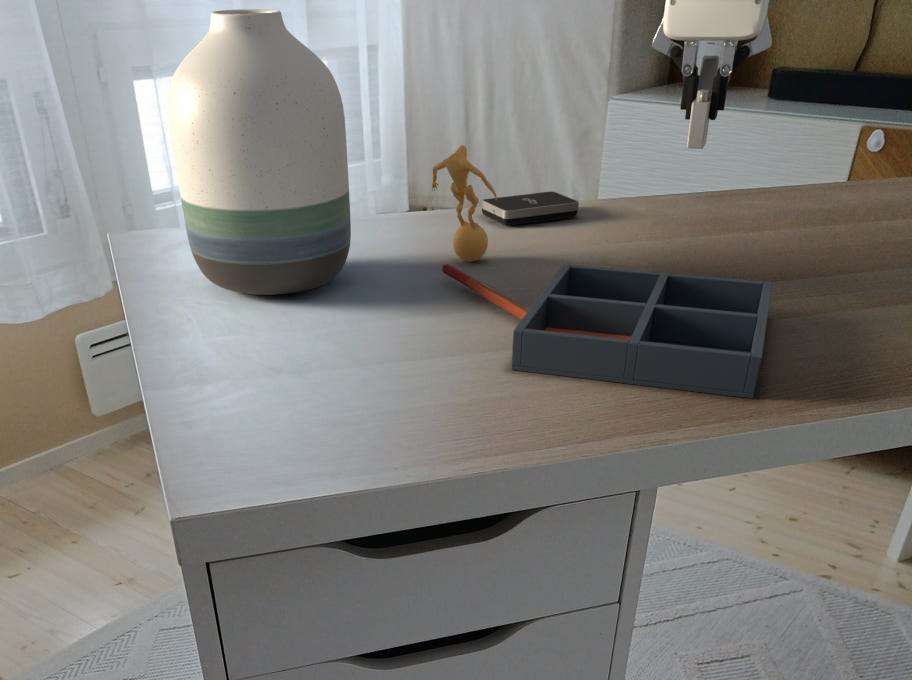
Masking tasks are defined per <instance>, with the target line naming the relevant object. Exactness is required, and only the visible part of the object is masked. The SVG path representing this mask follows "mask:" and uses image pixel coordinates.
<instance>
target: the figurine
mask: <svg viewBox="0 0 912 680" xmlns="http://www.w3.org/2000/svg"><path fill="white" fill-rule="evenodd" d="M467 158H468V149H467V147H466V146H465V145H464V144H462V145H460V146H458V148H457V150H456V151H454V152H453V153H452V154H450V155H449V156H448V157H447V158H444V159H443V160H442V161H441V162H438V163H436V164H435V165H434V166H433V167H432V170H431V171H432V172H431V173H432V174H431V176H432V177H431V190H432V191H436V190H437V191H438V186H440V184H438V182H437V177H438V171H440V170H442V169H445V168H446V169H447V172H448V174H449V176H450V178H451V180H452V183H451V184H450V192H451V193H452V196H453V197H454V198H455V200H457V202H458V204H457V206H456V207H455V208H456V209H455V212H456V217H457V219H458V221H459V224H460V226H459V227H458V228H457V229H456V231H455V232H454V234H453V236H452V248H453V251H454V253H455V255H456V256H457V257H458V258H459V259H460V260H462V261H465V262H468V263H469V262H476V261H478V260H480V259H481V258H482V257H483V256H484V255H485V254H486V252H487V250H488V246H489V238H488V237H489V236H488V234H487V232H486V231H485V229H484V228H483V226H481V225H479V223H478V222H475V221H474V219H473V215H474V214H475V213H476V208H477V206H478V204H479V198H478V196H477V195H476V193H475V192H474V188H473V185H472V184H467V183H468V176H469V174H470V173H472V174H474V175H475V176H477V177H479V178H480V179H481V181H482V182H483V184H484V185H485V186H486V188H487V189H488V190H489V191H490V192H491V193H492V194H493V195H494V198H495V199H496V201H497V198H498V197H497V194H496V190H495V189H494V187H493V185H492V184H491V183H490V181H489V180H488V179H487V178H486V176H485V175H484V172H482V171H481V170H480V169H479V168H478V167H476V166H474V165H473V164H472V163H471V162H470V161H469V160H468V159H467ZM465 199H466V200H467V201H468V202H470V203H471V206H470V207H469V208H468V210H467V220H468V221H466V220H464V218H463V215H462V212H463V209H464V203H465Z"/></svg>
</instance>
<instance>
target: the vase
mask: <svg viewBox="0 0 912 680" xmlns="http://www.w3.org/2000/svg"><path fill="white" fill-rule="evenodd" d="M209 24H210V25H209V29H208V31H207V33H206V34H205V35H204V37H203V38H202V39H201V40H200V41H199V43H197V45H195V47H194V48H192V50H190V51H189V53H187V55H186V56H185V57H184V58H183V59H182V60H181V62H180V64H179V65H178V67H177V68H176V70H175V72H174V73H173V76H172V78H171V82H170V86H169V89H168V90H169V91H168V98H167V119H168V127H169V133H170V134H169V135H170V142H171V147H172V153H173V158H174V165H175V172H176V178H177V183H178V190H179V196H180V201H181V206H182V207H181V208H182V213H183V218H184V220H183V221H184V224H185V225H184V226H185V230H186V236H187V240H188V245H189V248H190V251H191V254H192V257H193V259H194V261H195V263H196V265H197V267H198V269H199V270H200V272H201V273H202V274H203V276H204V277H205V278H206V279H207V280H208V281H210V282H211V283H212V284H214V285H216V286H218V287H219V288H222V289H224V290H228V291H231V292H235V293H239V294H244V295H245V294H246V295H257V296H259V295H261V296H271V295H273V296H275V295H285V294H286V295H287V294H295V293H300V292H304V291H309V290H313V289H316V288H319V287H320V286H322V285H324V284H327V283H329V282H330V281H332V280H333V279H335V278H336V277H337V276H338V275H339V274H340V273H341V271H343V268H344V267H345V264H346V262H347V259H348V256H349V252H350V248H351V247H350V246H351V240H352V238H351V237H352V228H351V227H352V226H351V225H352V223H351V221H352V220H351V201H350V182H349V181H350V179H349V164H348V163H349V162H348V147H347V146H348V145H347V131H346V119H345V118H346V117H345V110H344V104H343V99H342V95H341V93H340V90H339V87H338V83H337V82H336V80H335V77H334V75H333V73H332V72H331V70H330V69H329V67H328V66H327V65H326V64H325V63H324V62H323V60H322V59H321V58H320V57H319V56H318V55H317V54H315V53H314V51H312V50H311V49H310V48H309V47H307V46H306V45H305V44H304V43H302V41H300V40H299V39H298V38H296V36H294V35H293V34H292V33H291V32H290V31H289V30H288V29H287V27H286V25H285V21H284V20H283V15H282V12H281V11H280V10H278V9H266V8H265V9H263V8H249V9H248V8H246V9H245V8H244V9H239V8H238V9H223V10H215V11H212V12H210V23H209Z"/></svg>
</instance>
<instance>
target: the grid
mask: <svg viewBox="0 0 912 680" xmlns="http://www.w3.org/2000/svg"><path fill="white" fill-rule="evenodd" d="M772 289H773V282H772V281H762V280H749V279H740V278H739V279H737V278H729V277H728V278H725V277H717V276H715V277H714V276H704V275H692V274H681V273H669V272H658V271H646V270H638V269H637V270H635V269H623V268H612V267H603V266H602V267H601V266H590V265H577V264H569V263H567V264H566V263H564V264H563V265H562V266H561V267H560V269H559V270H558V271H557V273H556V274H555V275H554V276H553V278H552V279H551V280H550V282H549V283H548V284H547V286H546V287H545V289H544V290H543V291H542V292H541V293H540V294H539V296H538V297H537V299H536V300H535V302H534V303H533V304H532V305H531V307H530V308H529V309H528V310H529V311H528V312H527V314H526V315H525V316H524V318H523V319H522V320H521V319H520V322H519V323H518V324H517V325H516V327H515V328H514V329H513V331H512V352H511V370H512V371H517V372H525V373H527V372H528V373H533V374H535V373H536V374H543V375H553V376H559V377H560V376H561V377H567V378H568V377H569V378H578V379H585V380H595V381H602V382H611V383H618V384H619V383H620V384H626V385H627V384H628V385H636V386H643V387H654V388H661V389H669V390H678V391H686V392H687V391H688V392H693V393H694V392H695V393H702V394H703V393H704V394H711V395H718V396H719V395H720V396H726V397H727V396H728V397H737V398H745V399H754V395H755V391H756V386H757V383H758V378H759V372H760V368H761V365H762V359H763V355H764V354H763V353H764V346H765V339H766V331H767V323H768V317H769V310H770V302H771V296H772Z"/></svg>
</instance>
